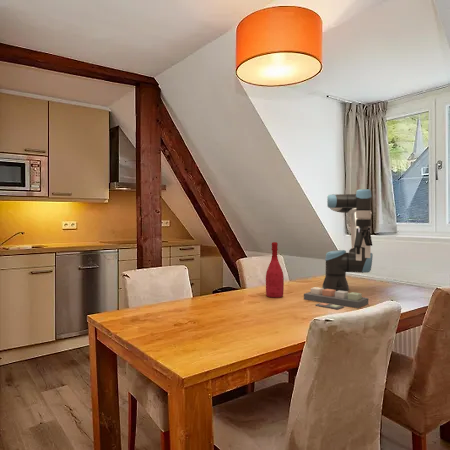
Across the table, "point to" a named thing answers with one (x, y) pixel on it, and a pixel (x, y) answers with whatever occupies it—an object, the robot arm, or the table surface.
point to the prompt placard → (329, 306)
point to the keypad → (336, 300)
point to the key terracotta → (328, 292)
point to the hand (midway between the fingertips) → (363, 259)
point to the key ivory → (316, 290)
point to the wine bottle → (274, 276)
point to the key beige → (341, 294)
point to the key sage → (354, 296)
